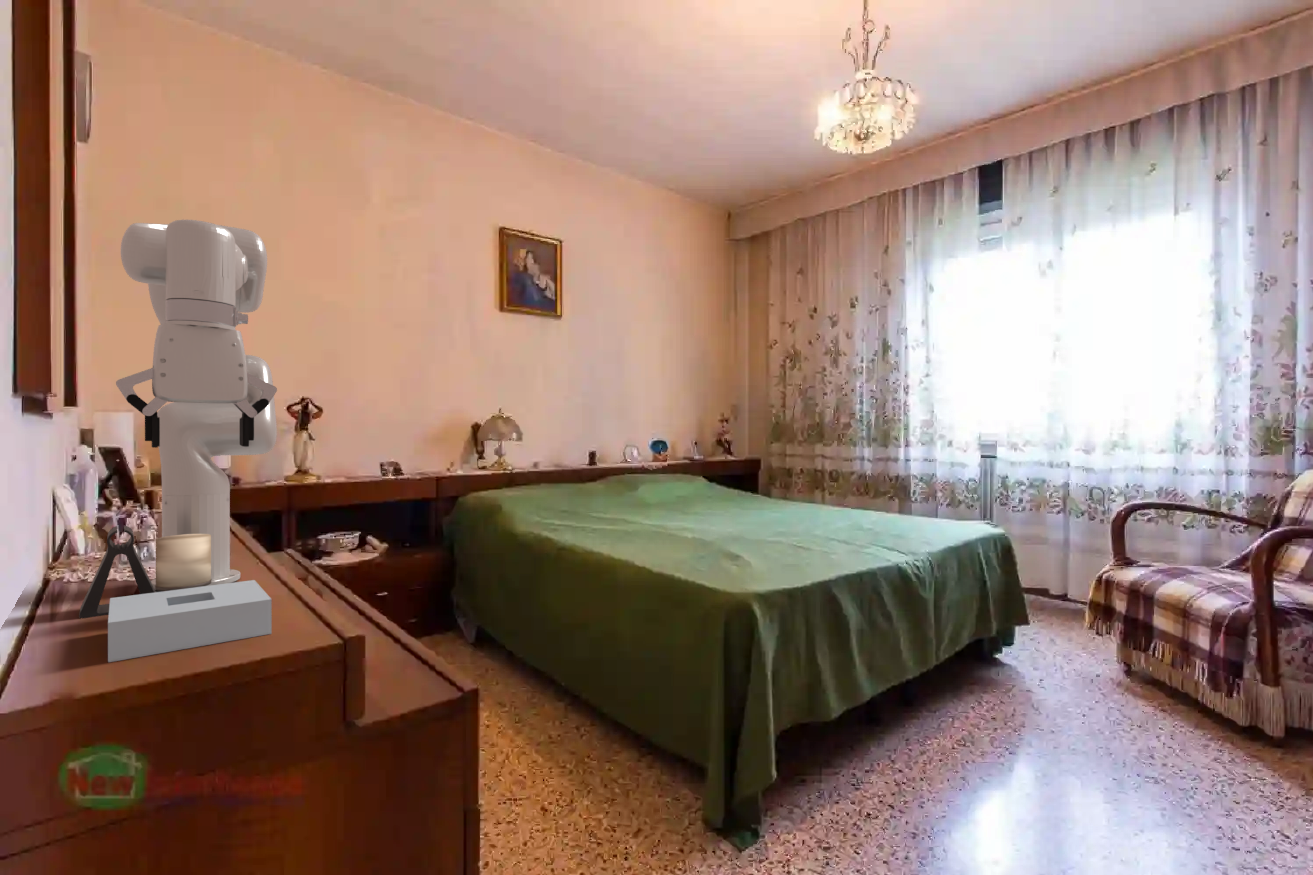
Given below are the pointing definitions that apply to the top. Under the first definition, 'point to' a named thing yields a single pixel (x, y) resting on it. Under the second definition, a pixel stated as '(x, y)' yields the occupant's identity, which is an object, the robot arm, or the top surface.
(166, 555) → the beech peg
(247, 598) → the gray rectangular block
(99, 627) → the top surface
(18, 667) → the top surface
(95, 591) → the dark grey a-shaped piece
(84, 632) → the top surface
